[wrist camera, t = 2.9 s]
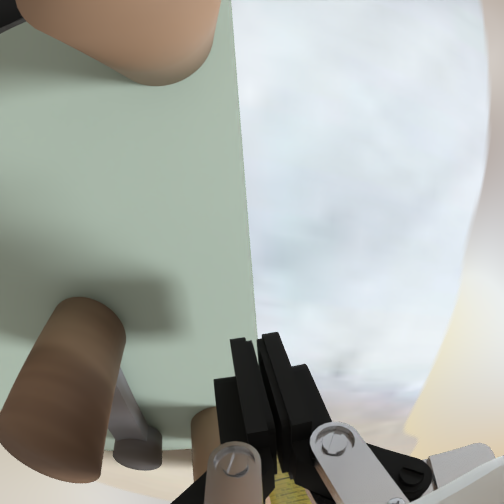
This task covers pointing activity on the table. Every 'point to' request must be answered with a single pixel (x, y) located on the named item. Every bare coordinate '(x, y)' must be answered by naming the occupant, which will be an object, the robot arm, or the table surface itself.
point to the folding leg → (77, 399)
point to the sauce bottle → (287, 490)
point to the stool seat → (128, 196)
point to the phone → (9, 15)
